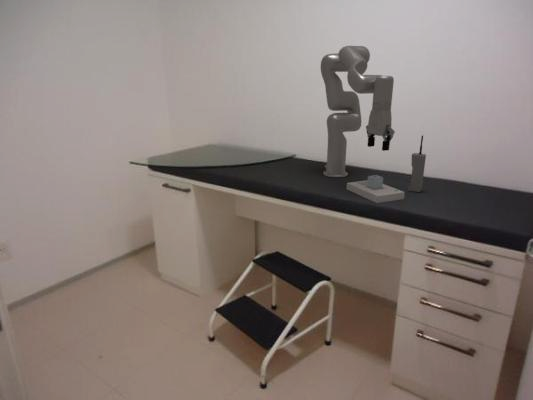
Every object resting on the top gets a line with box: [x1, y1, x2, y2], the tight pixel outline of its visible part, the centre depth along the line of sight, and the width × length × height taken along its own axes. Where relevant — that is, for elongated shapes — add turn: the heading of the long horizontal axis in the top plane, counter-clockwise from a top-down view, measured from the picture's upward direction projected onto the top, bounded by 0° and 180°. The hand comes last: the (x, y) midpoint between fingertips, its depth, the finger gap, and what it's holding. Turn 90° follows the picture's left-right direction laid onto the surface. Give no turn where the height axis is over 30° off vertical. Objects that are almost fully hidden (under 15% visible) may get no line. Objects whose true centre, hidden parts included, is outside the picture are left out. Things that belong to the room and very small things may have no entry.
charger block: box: [367, 174, 384, 190], centre depth 174 cm, size 5×5×7 cm
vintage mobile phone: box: [407, 135, 427, 193], centre depth 177 cm, size 4×5×25 cm
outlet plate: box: [346, 179, 406, 204], centre depth 175 cm, size 22×14×3 cm, turn 23°
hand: (377, 148), depth 170 cm, fingers open, 9 cm apart
